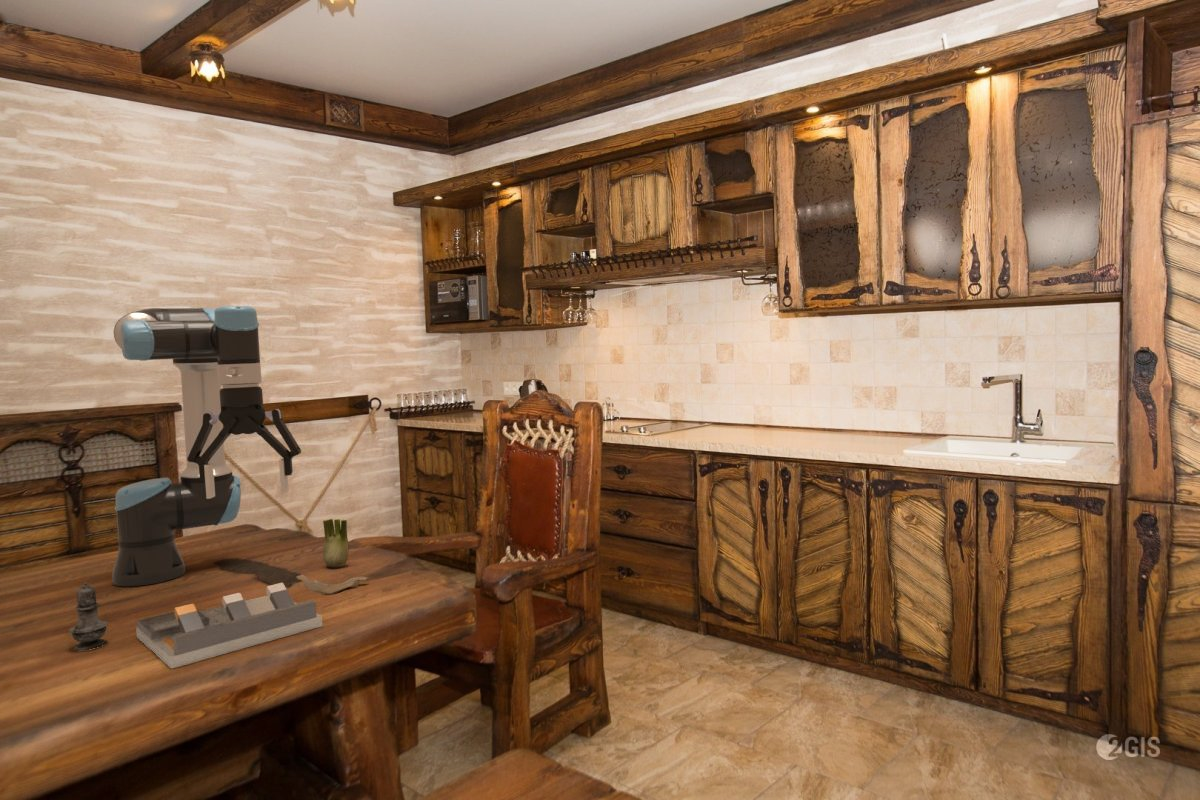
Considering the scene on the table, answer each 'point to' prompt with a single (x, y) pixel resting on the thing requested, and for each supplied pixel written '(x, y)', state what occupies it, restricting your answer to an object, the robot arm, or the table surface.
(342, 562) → the fennel bulb
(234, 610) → the block
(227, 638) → the panel
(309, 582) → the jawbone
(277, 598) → the block
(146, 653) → the table surface
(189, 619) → the block
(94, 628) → the stone stupa figurine
